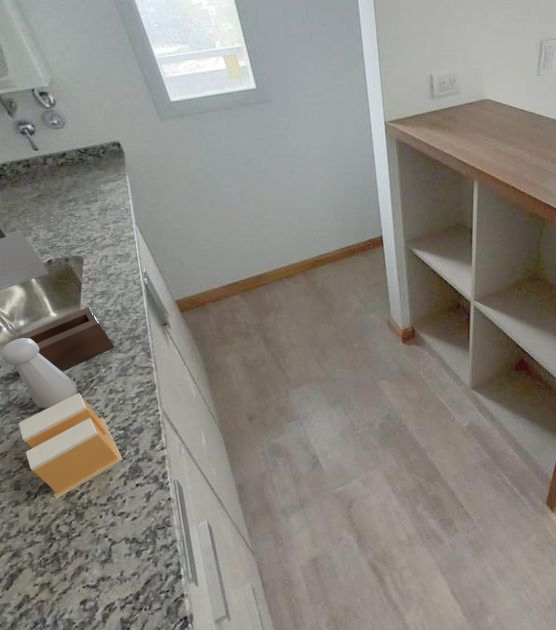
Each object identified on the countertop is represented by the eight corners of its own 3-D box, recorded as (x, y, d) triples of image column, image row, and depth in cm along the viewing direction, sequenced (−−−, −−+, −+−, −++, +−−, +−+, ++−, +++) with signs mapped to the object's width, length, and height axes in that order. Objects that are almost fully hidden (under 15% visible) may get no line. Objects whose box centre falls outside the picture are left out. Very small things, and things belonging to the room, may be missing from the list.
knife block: (45, 379, 78) (24, 355, 74) (38, 359, 82) (18, 335, 79) (114, 347, 84) (98, 323, 80) (104, 330, 88) (88, 306, 84)
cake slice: (57, 493, 59) (30, 468, 55) (52, 477, 61) (25, 451, 58) (117, 457, 63) (96, 432, 59) (110, 443, 65) (89, 417, 61)
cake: (58, 502, 59) (27, 474, 55) (43, 453, 66) (14, 424, 61) (125, 462, 63) (101, 433, 59) (105, 419, 70) (81, 391, 66)
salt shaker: (58, 420, 70) (5, 362, 62) (35, 411, 72) (-19, 353, 64) (91, 393, 75) (45, 336, 66) (68, 385, 76) (22, 328, 68)
